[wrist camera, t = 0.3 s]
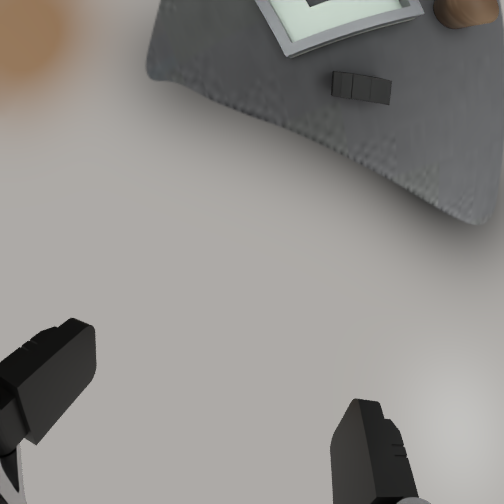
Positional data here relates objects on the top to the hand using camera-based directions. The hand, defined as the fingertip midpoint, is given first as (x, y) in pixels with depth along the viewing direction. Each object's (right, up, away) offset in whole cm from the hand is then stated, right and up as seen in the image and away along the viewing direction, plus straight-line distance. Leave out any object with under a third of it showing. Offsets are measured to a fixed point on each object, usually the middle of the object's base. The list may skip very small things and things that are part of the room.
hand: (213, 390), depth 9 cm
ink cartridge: (+12, +22, +20) cm, 32 cm away
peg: (+22, +29, +13) cm, 39 cm away
